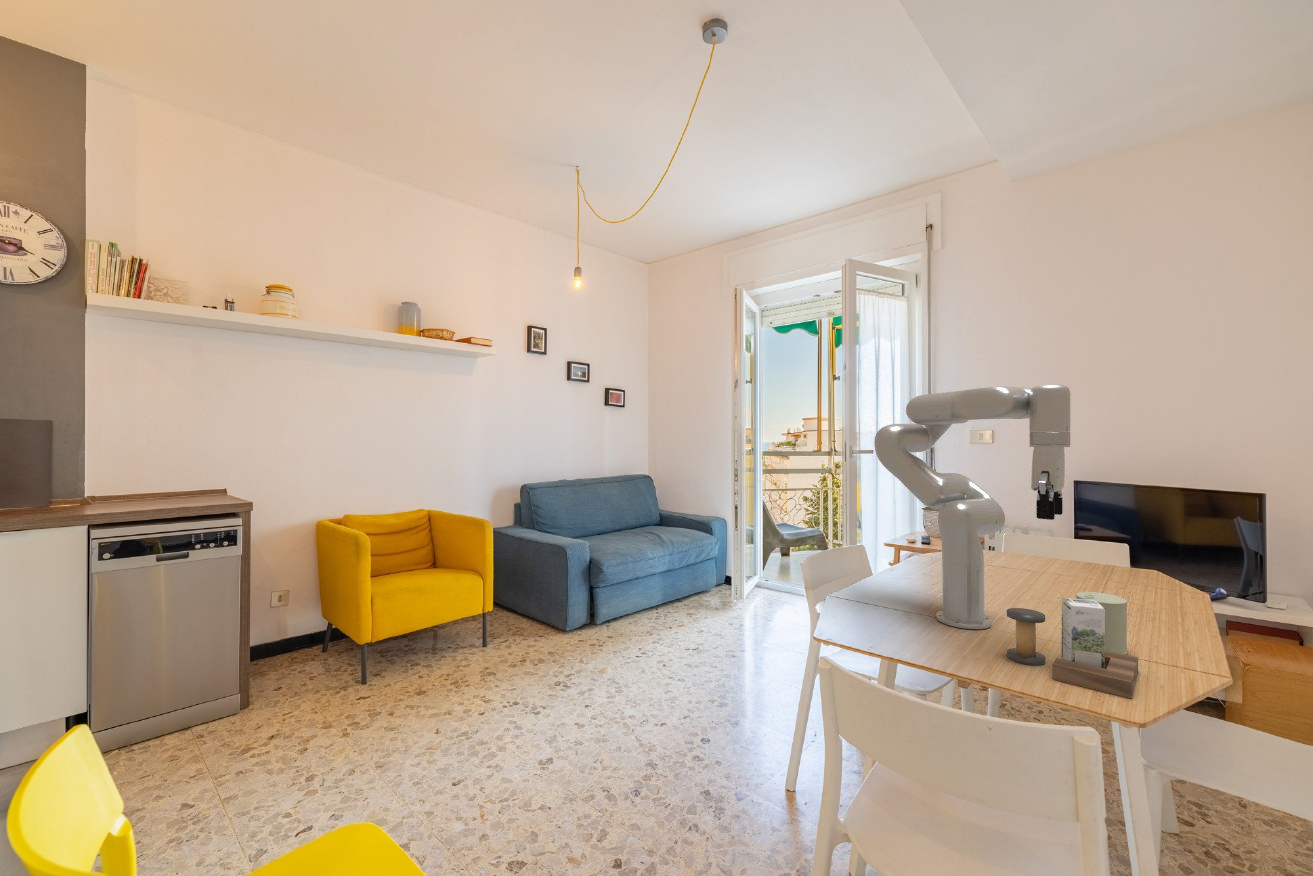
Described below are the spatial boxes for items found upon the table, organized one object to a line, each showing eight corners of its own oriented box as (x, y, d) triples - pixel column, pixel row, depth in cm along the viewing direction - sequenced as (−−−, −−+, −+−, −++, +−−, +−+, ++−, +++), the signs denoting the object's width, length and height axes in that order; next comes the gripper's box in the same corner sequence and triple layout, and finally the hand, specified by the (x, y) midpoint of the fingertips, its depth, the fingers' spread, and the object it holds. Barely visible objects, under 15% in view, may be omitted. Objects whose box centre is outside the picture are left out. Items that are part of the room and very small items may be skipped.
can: (1066, 640, 131) (1066, 589, 131) (1106, 640, 131) (1106, 589, 131) (1095, 655, 122) (1095, 601, 122) (1139, 655, 122) (1138, 601, 122)
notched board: (1066, 655, 122) (1066, 642, 122) (1138, 671, 114) (1138, 657, 114) (1052, 679, 111) (1052, 664, 111) (1131, 698, 102) (1131, 682, 102)
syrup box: (1093, 668, 115) (1093, 598, 115) (1105, 680, 110) (1105, 607, 110) (1061, 664, 117) (1060, 596, 117) (1071, 676, 112) (1070, 604, 112)
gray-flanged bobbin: (1010, 650, 125) (1010, 605, 125) (1048, 658, 121) (1048, 612, 120) (1003, 659, 120) (1003, 613, 120) (1042, 668, 115) (1041, 620, 115)
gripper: (1037, 439, 133) (1037, 511, 133) (1021, 440, 121) (1021, 519, 121) (1076, 439, 128) (1076, 514, 128) (1063, 441, 116) (1063, 523, 116)
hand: (1049, 516), depth 125 cm, fingers open, 9 cm apart
